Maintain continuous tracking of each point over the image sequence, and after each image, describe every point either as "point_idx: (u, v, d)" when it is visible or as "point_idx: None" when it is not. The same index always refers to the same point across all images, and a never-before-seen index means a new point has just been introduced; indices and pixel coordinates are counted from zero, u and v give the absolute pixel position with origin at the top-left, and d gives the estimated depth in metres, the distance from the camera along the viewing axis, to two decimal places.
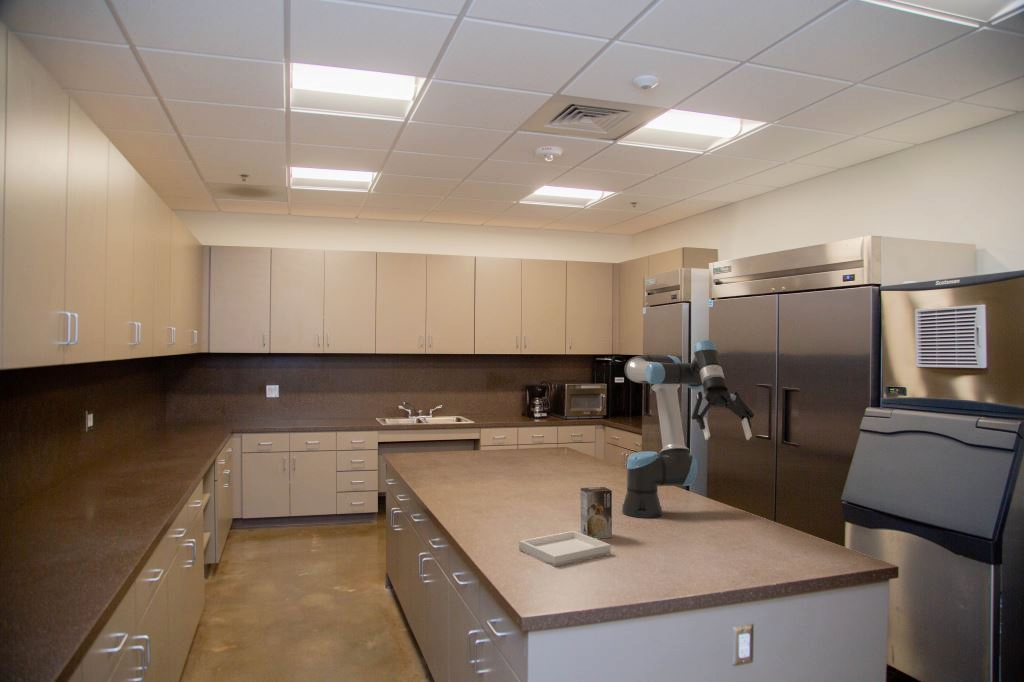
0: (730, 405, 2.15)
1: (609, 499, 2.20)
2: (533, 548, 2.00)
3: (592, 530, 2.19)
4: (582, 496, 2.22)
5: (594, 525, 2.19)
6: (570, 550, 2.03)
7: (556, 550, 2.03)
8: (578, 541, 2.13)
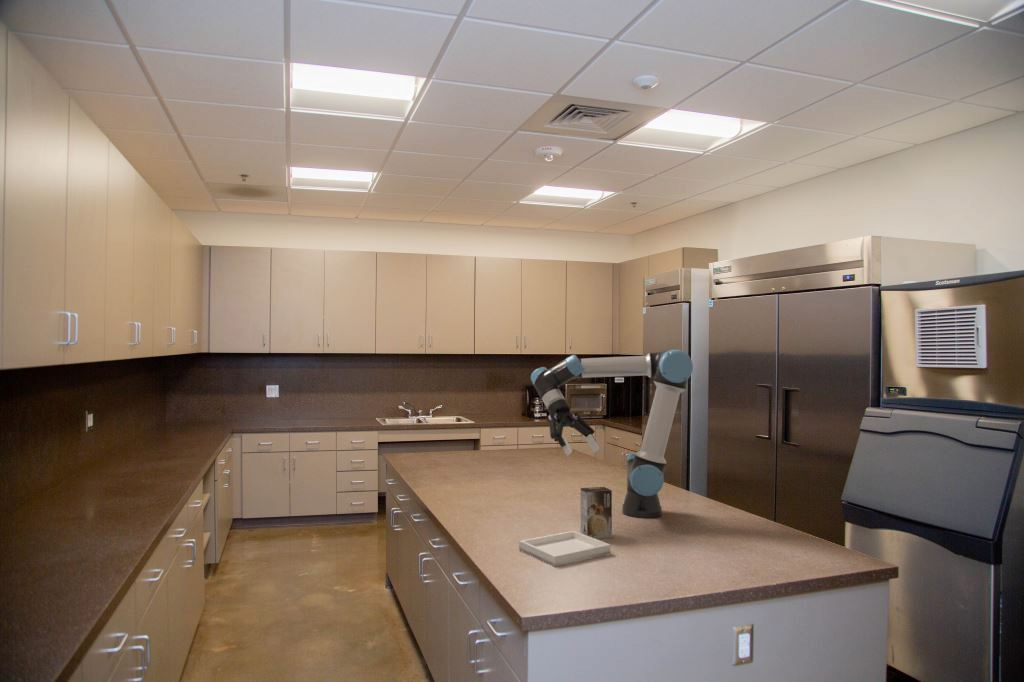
0: None
1: (609, 499, 2.20)
2: (533, 548, 2.00)
3: (592, 530, 2.19)
4: (582, 496, 2.22)
5: (594, 525, 2.19)
6: (570, 550, 2.03)
7: (556, 550, 2.03)
8: (578, 541, 2.13)
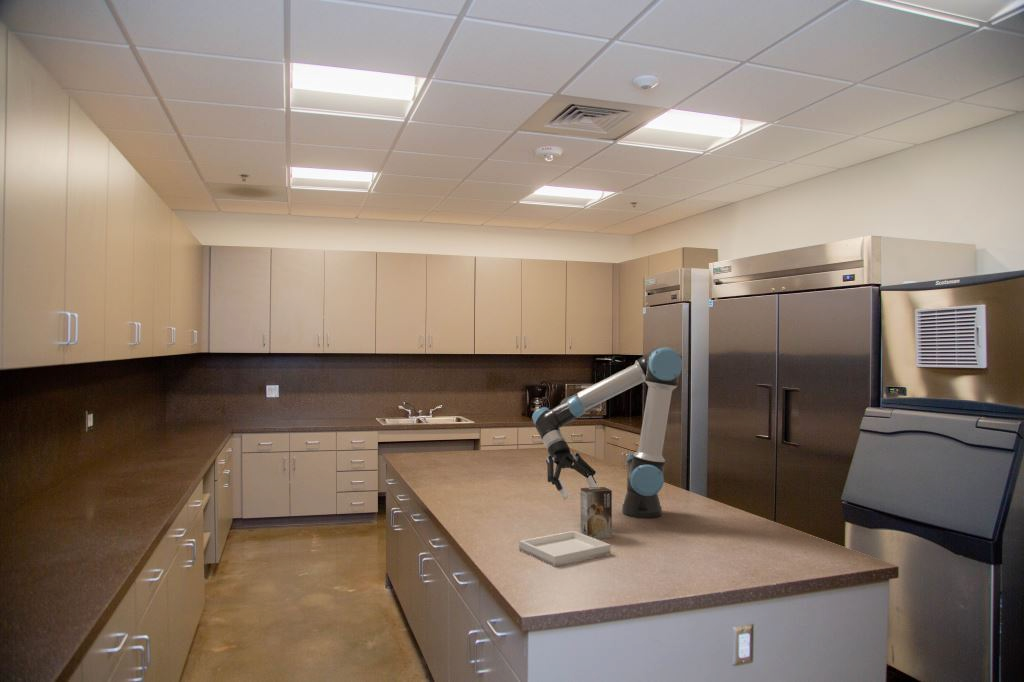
0: None
1: (609, 499, 2.20)
2: (533, 548, 2.00)
3: (592, 530, 2.19)
4: (582, 496, 2.22)
5: (594, 525, 2.19)
6: (570, 550, 2.03)
7: (556, 550, 2.03)
8: (578, 541, 2.13)
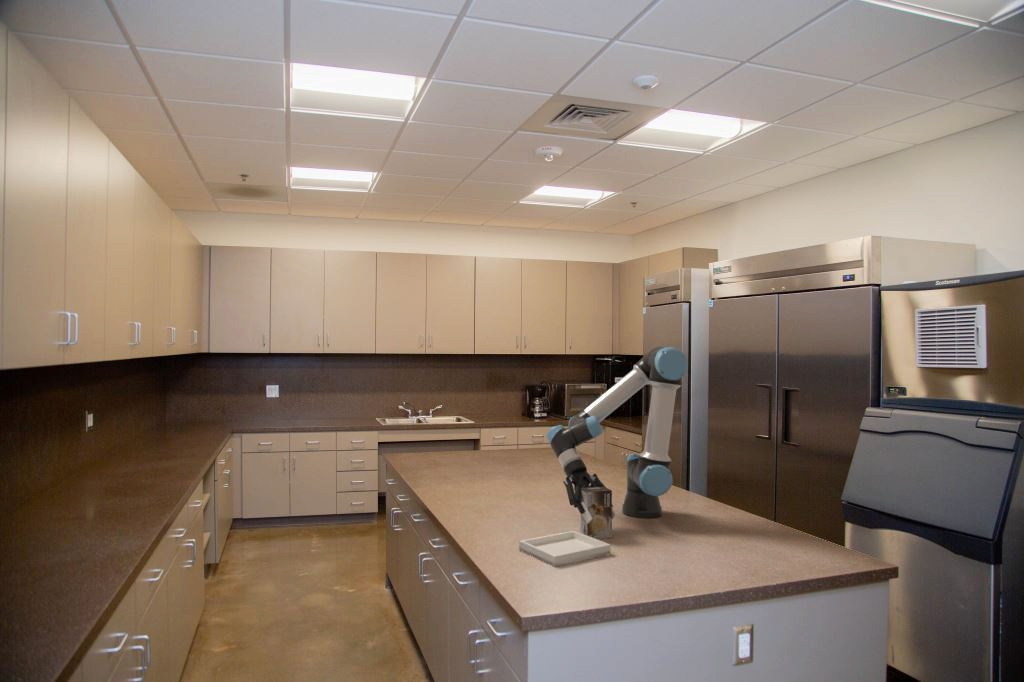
0: None
1: (609, 499, 2.20)
2: (533, 548, 2.00)
3: (592, 530, 2.19)
4: (582, 496, 2.22)
5: (594, 525, 2.19)
6: (570, 550, 2.03)
7: (556, 550, 2.03)
8: (578, 541, 2.13)
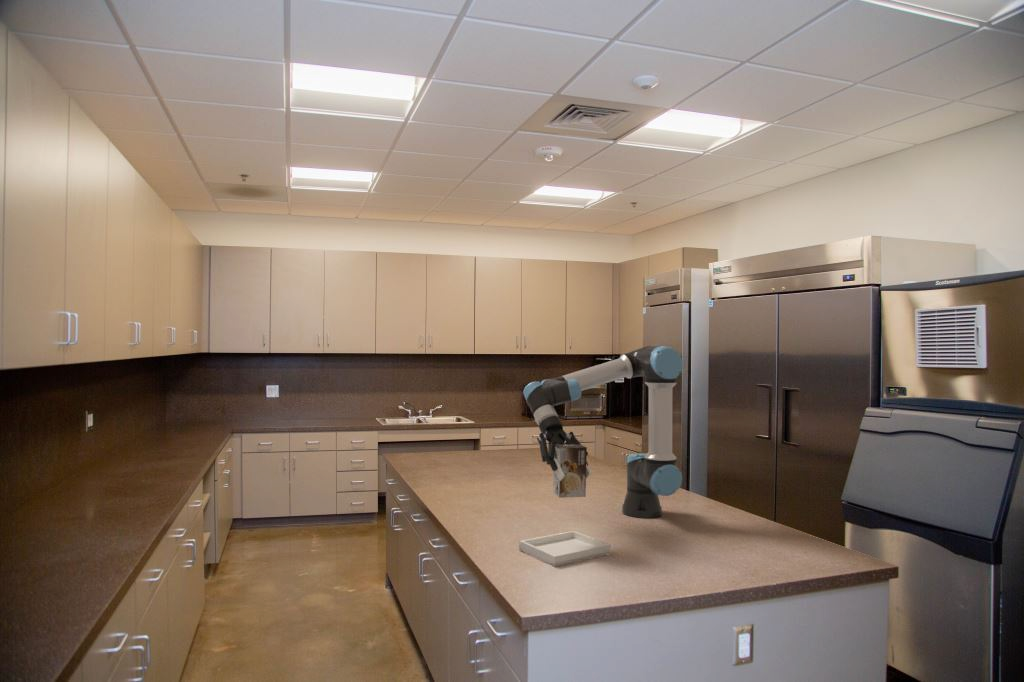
0: None
1: (584, 457, 2.10)
2: (533, 548, 2.00)
3: (565, 488, 2.08)
4: (556, 453, 2.12)
5: (566, 482, 2.08)
6: (570, 550, 2.03)
7: (556, 550, 2.03)
8: (578, 541, 2.13)
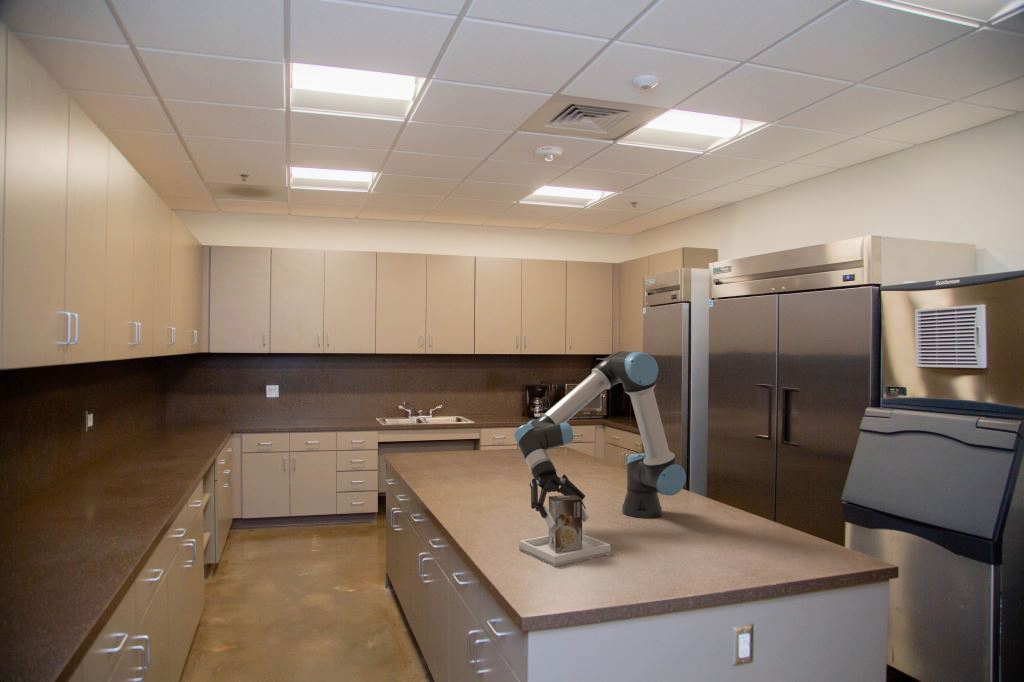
0: None
1: (579, 509, 2.03)
2: (533, 548, 2.00)
3: (561, 542, 2.01)
4: (550, 505, 2.05)
5: (562, 536, 2.01)
6: None
7: None
8: None
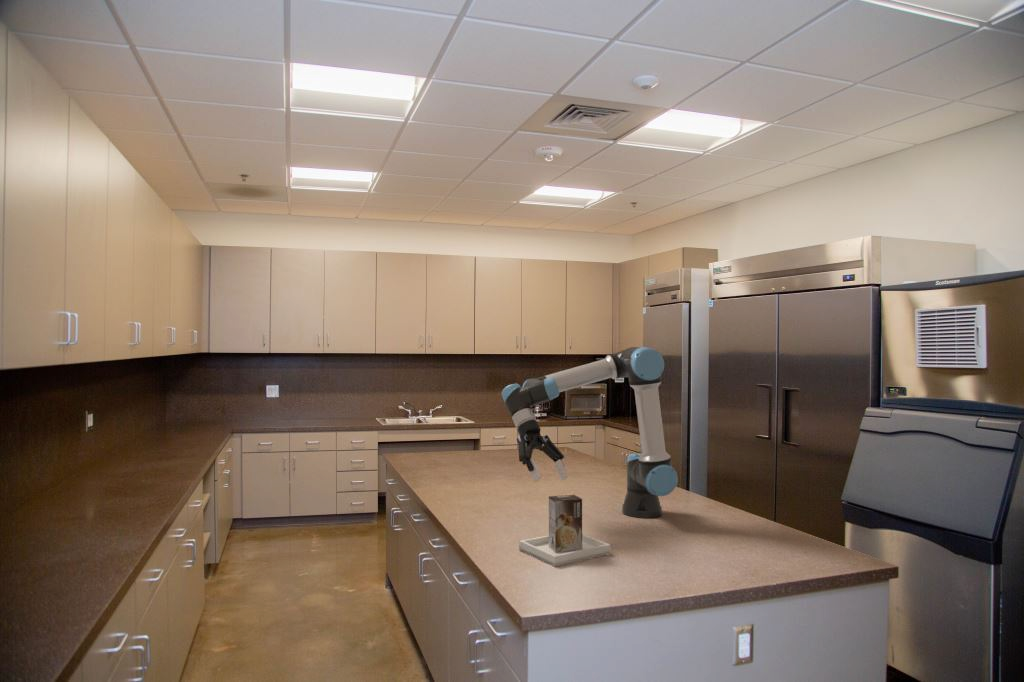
0: None
1: (579, 509, 2.03)
2: (533, 548, 2.00)
3: (561, 542, 2.01)
4: (550, 505, 2.05)
5: (562, 536, 2.01)
6: None
7: None
8: None
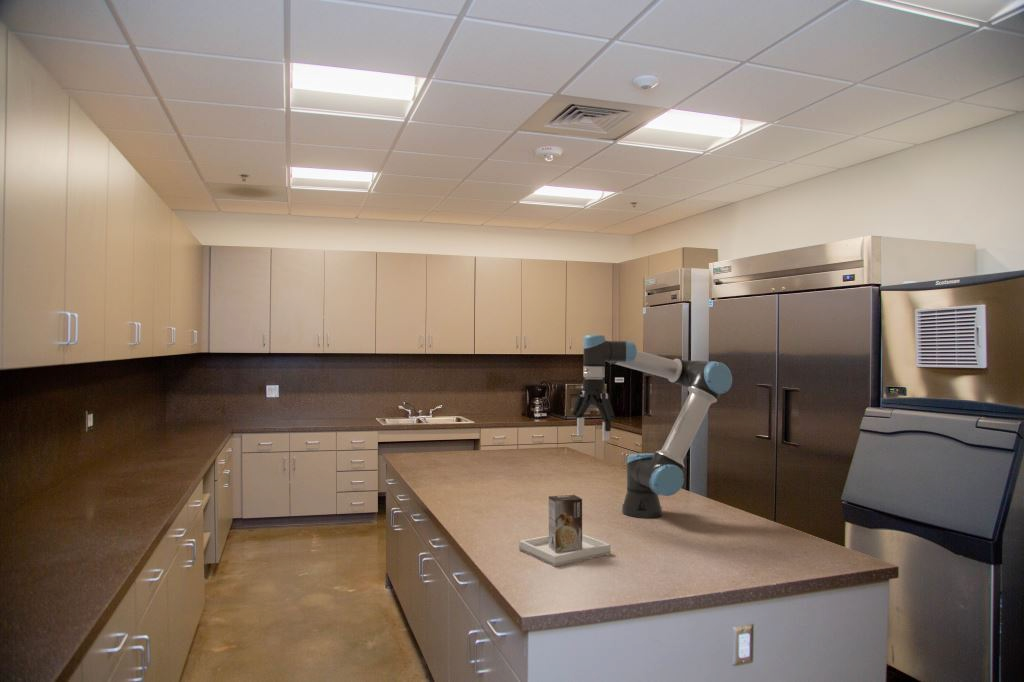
0: None
1: (579, 509, 2.03)
2: (533, 548, 2.00)
3: (561, 542, 2.01)
4: (550, 505, 2.05)
5: (562, 536, 2.01)
6: None
7: None
8: None
